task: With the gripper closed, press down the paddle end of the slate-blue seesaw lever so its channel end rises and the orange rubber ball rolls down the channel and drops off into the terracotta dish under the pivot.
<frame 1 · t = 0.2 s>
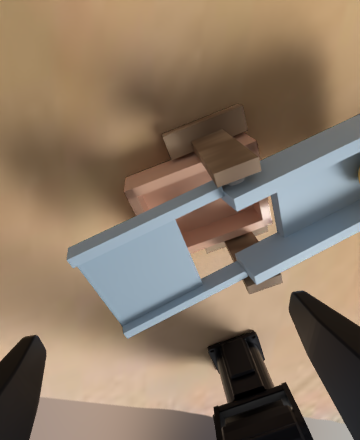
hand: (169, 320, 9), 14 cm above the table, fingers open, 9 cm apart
lever: (262, 222, 16), point 7 cm above the table, hinge at 10.0°, touching ball
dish: (196, 193, 22), on the table
stand: (219, 185, 22), resting in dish
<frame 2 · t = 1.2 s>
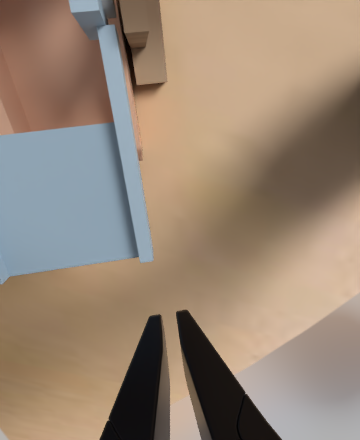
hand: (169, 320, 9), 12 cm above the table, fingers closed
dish: (67, 72, 15), on the table
stand: (56, 30, 14), resting in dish
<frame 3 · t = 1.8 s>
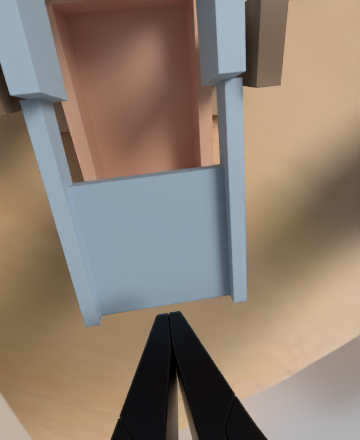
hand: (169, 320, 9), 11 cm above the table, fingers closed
lever: (123, 19, 8), point 7 cm above the table, hinge at 10.0°, touching ball
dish: (140, 102, 15), on the table
stand: (134, 62, 14), resting in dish
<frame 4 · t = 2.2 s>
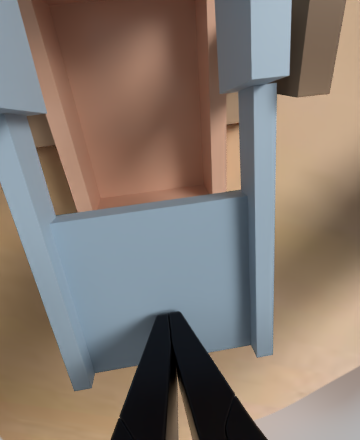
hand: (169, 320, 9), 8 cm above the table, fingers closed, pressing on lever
lever: (117, 4, 6), point 7 cm above the table, hinge at 10.0°, touching ball, gripper
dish: (140, 109, 13), on the table
stand: (133, 63, 12), resting in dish
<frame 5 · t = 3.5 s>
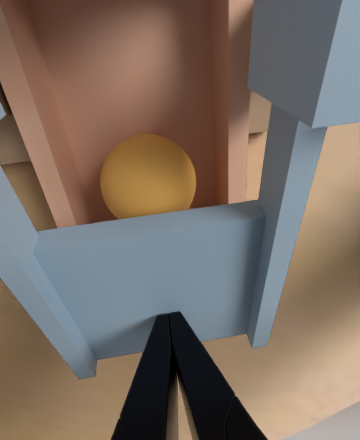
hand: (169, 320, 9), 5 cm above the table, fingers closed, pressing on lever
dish: (140, 116, 11), on the table
ball: (149, 183, 10), point 2 cm above the table, tilted 71°, touching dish
stand: (131, 59, 10), resting in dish
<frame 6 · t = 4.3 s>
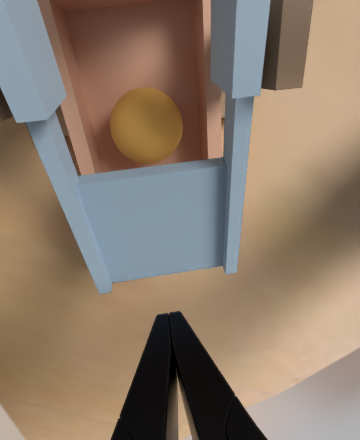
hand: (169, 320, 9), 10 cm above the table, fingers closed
lever: (129, 20, 7), point 7 cm above the table, hinge at -8.2°
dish: (144, 104, 14), on the table
ball: (146, 127, 13), point 2 cm above the table, tilted 30°, touching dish
stand: (137, 62, 13), resting in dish
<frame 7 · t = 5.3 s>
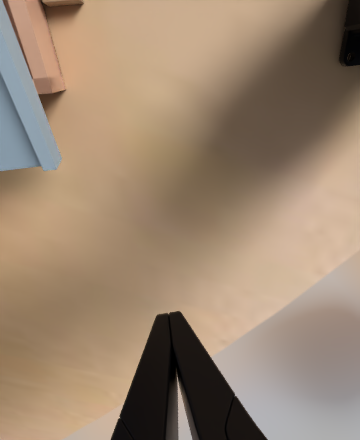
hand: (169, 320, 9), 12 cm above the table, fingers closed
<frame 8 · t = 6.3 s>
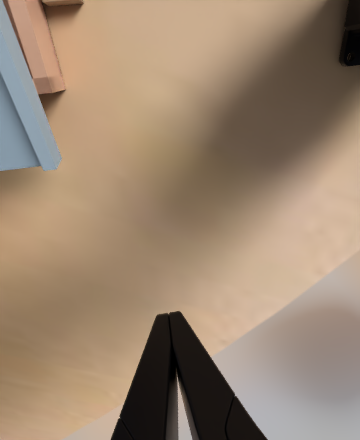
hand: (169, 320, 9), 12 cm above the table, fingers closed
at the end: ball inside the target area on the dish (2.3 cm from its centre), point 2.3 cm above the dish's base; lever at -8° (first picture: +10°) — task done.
